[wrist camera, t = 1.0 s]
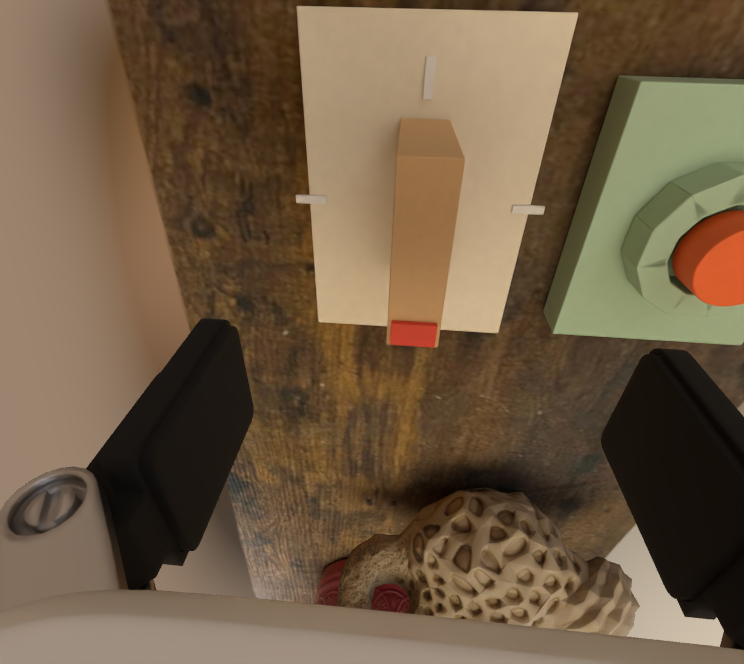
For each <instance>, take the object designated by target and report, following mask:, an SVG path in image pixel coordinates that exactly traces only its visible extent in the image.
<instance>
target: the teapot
mask: <svg viewBox="0 0 744 664" xmlns="http://www.w3.org/2000/svg"><path fill="white" fill-rule="evenodd" d="M382 584H396V585H398V586H400V587H401V588H402V589H403V590H404V591H405V592H406V594H407V596H408V597H409V599H410V606H409V610H408V612H407V614H417V615H427V616H436V617H446V618H456V619H465V620H475V621H485V622H494V623H504V624H513V625H523V626H532V627H542V628H551V629H561V630H570V631H579V632H588V633H597V634H607V635H616V636H625V637H626V635H627V634H628V633H629V631H630V630H631V629H632V627H633V626H634V618H635V612H636V611H637V609H638V608H639V607H640V606H639V604H638V602H637V601H636V599H635V597H634V595H633V594H632V592H631V584H632V579H631V578H629V577H628V576H627V575H626V574H625V573H624V572H623V570H622V568H621V566H620V565H619V564H615V563H612V562H609V561H607V560H606V559H604V558H600V557H595V558H593V559H591V560H588V561H585V560H584V559H583V558H582V557H581V556H580V555H579V554H577V553H575V552H573V551H572V550H571V549H570V548H569V547H567V546H566V544H565V543H564V542H563V540H562V536H561V533H560V531H559V530H558V529H557V528H556V526H555V525H554V524H553V523H552V522H551V521H550V520H549V519H548V517H547V516H545V515H544V514H543V513H542V512H541V511H540V510H539V509H538V508H537V507H536V506H535V505H534V504H533V503H532V502H531V501H530V500H529V499H528V498H527V497H526V496H525V495H524V494H523V493H522V492H512V493H504V492H499V491H497V490H496V489H491V488H472V489H466V490H457V491H455V492H453V493H452V494H450V495H448V496H446V497H444V498H442V499H440V500H439V501H437V502H435V503H432V504H430V505H428V506H426V507H424V508H423V509H421V510H420V512H419V514H418V516H417V517H416V518H415V519H414V520H413V521H412V522H411V523H410V524H409V526H408V527H407V528H406V529H405V530H404V531H403V532H402V533H401V534H399V535H384V534H375V535H374V536H372V537H371V538H370V539H368V540H367V541H365V542H363V543H361V544H360V545H358V546H357V547H356V548H355V549H353V550H352V552H351V554H350V555H349V557H348V558H347V560H346V562H345V565H344V567H343V569H342V571H341V576H340V583H339V588H338V607H348V608H358V609H368V610H373V607H372V598H373V594H374V590H375V587H377V586H380V585H382Z"/></svg>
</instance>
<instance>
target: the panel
mask: <svg viewBox="0 0 744 664" xmlns="http://www.w3.org/2000/svg"><path fill="white" fill-rule="evenodd" d="M577 18H578V13H577V12H536V11H494V10H451V9H409V8H366V7H323V6H297V21H298V36H299V50H300V65H301V79H302V93H303V108H304V122H305V136H306V151H307V165H308V180H309V194H310V195H301V194H296V203H308V204H310V208H311V223H312V237H313V252H314V266H315V280H316V295H317V309H318V321H319V322H327V323H343V324H359V325H375V326H387V321H388V302H389V283H390V263H391V244H392V225H393V206H394V187H395V167H396V153H397V145H398V138H399V130H400V122H401V118H412V119H439V120H450V121H451V124H452V126H453V129H454V131H455V134H456V137H457V139H458V142H459V144H460V147H461V150H462V152H463V155H464V157H465V165H464V172H463V179H462V185H461V192H460V199H459V206H458V213H457V219H456V226H455V233H454V240H453V247H452V253H451V260H450V267H449V274H448V281H447V287H446V294H445V301H444V308H443V315H442V321H441V328H440V330H455V331H471V332H487V333H498V331H499V327H500V323H501V319H502V315H503V311H504V307H505V304H506V300H507V296H508V292H509V288H510V284H511V280H512V276H513V272H514V268H515V264H516V260H517V256H518V252H519V248H520V244H521V240H522V236H523V232H524V228H525V224H526V220H527V216H528V214H537V215H543V213H544V210H545V206H535V205H530V204H531V200H532V196H533V192H534V188H535V184H536V180H537V176H538V172H539V168H540V165H541V161H542V157H543V153H544V149H545V145H546V141H547V137H548V133H549V129H550V125H551V121H552V117H553V113H554V109H555V105H556V101H557V97H558V93H559V89H560V85H561V81H562V77H563V73H564V69H565V65H566V61H567V57H568V53H569V49H570V45H571V41H572V37H573V33H574V29H575V26H576V22H577Z"/></svg>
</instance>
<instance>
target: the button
mask: <svg viewBox="0 0 744 664" xmlns="http://www.w3.org/2000/svg"><path fill="white" fill-rule="evenodd" d="M672 267H673V271H674V274H675V276H676V277H677V278H678V279H679V280H680V281H681V282H682V283H683V284H684V285H685V286H686V287H687V288H688V289H689V290H690V291H691V292H692V293H693V294H694V295H695V296H696V297H697V298H699V299H700V300H701V301H703V302H704V303H707V304H710V305H714V306H735V305H740V304H744V210H733V211H727V212H723V213H720V214H717V215H714V216H712V217H709V218H707V219H706V220H704V221H702V222H701V223H699V224H698V225H696V226H695V227H694V228H692V229H691V230H690V231H689V232H688V233H687V234H686V235H685V236H684V237H683V238H682V240H681V241H680V243H679V244H678V246H677V248H676V250H675V252H674V255H673V260H672Z"/></svg>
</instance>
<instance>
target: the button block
mask: <svg viewBox="0 0 744 664" xmlns="http://www.w3.org/2000/svg"><path fill="white" fill-rule="evenodd" d="M733 210H744V79H717V78H685V77H653V76H618V79H617V82H616V85H615V88H614V91H613V94H612V98H611V101H610V104H609V107H608V110H607V113H606V116H605V119H604V123H603V126H602V129H601V132H600V135H599V138H598V141H597V144H596V148H595V151H594V154H593V157H592V160H591V163H590V166H589V169H588V173H587V176H586V179H585V182H584V185H583V188H582V191H581V194H580V198H579V201H578V204H577V207H576V210H575V213H574V216H573V219H572V222H571V226H570V229H569V232H568V235H567V238H566V241H565V244H564V247H563V251H562V254H561V257H560V260H559V263H558V266H557V269H556V272H555V276H554V279H553V282H552V285H551V288H550V291H549V294H548V297H547V301H546V304H545V307H544V310H543V313H544V315H545V317H546V320H547V322H548V324H549V326H550V329H551V331H552V333H553V334H569V335H585V336H601V337H617V338H633V339H649V340H665V341H681V342H697V343H713V344H729V345H741V344H742V343H743V342H744V304H740V305H735V306H714V305H710V304H707V303H704V302H703V301H701V300H700V299H699V298H697V297H696V296H695V295H694V294H693V293H692V292H691V291H690V290H689V289H688V288H687V287H686V286H685V285H684V284H683V283H682V282H681V281H680V280H679V279H678V278H677V277H676V276H675V274H674V271H673V267H672V260H673V255H674V252H675V250H676V248H677V246H678V244H679V243H680V241H681V240H682V238H683V237H684V236H685V235H686V234H687V233H688V232H689V231H690V230H691V229H692V228H694V227H695V226H696V225H698V224H699V223H701V222H702V221H704V220H706V219H707V218H709V217H712V216H714V215H717V214H720V213H723V212H727V211H733Z"/></svg>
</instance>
